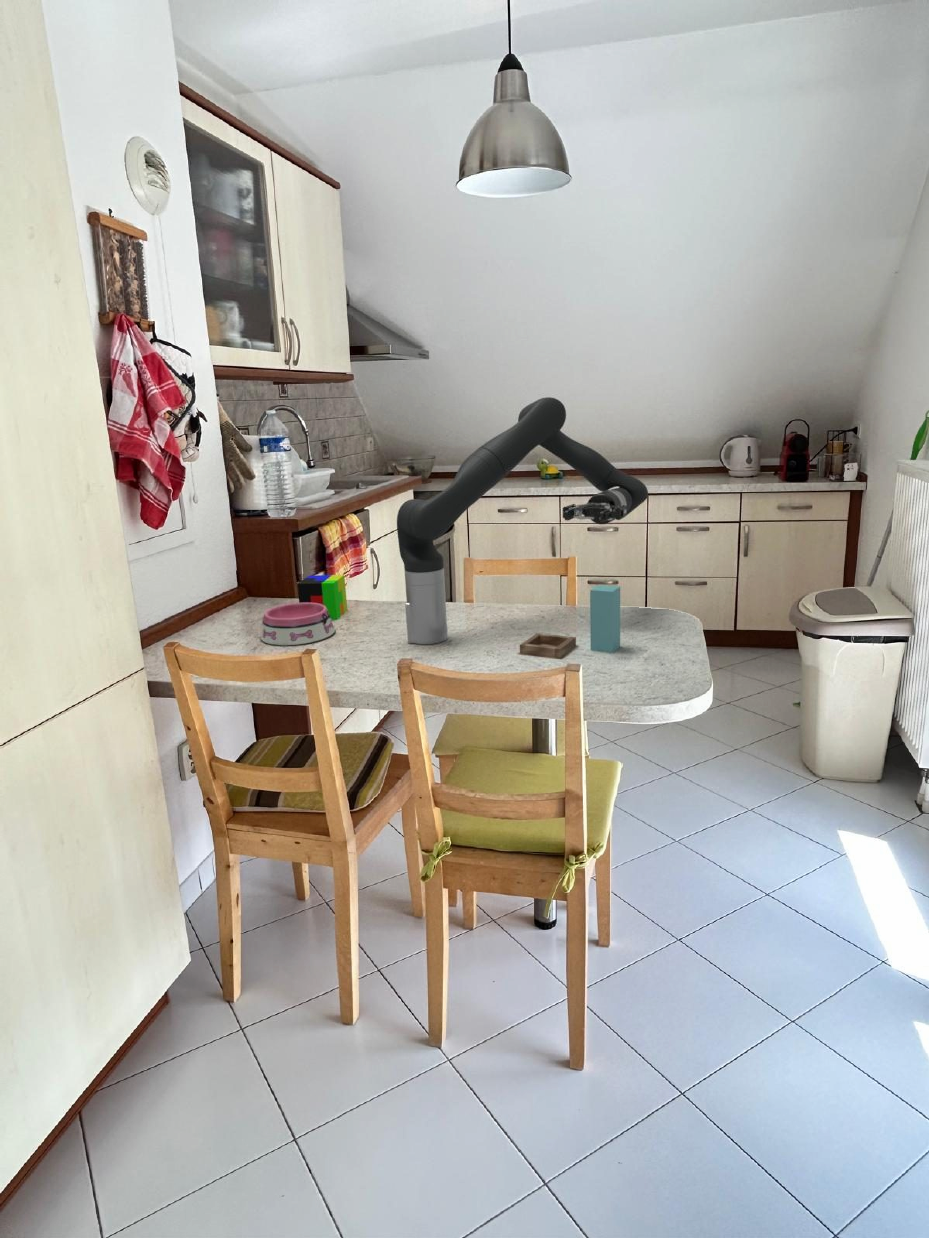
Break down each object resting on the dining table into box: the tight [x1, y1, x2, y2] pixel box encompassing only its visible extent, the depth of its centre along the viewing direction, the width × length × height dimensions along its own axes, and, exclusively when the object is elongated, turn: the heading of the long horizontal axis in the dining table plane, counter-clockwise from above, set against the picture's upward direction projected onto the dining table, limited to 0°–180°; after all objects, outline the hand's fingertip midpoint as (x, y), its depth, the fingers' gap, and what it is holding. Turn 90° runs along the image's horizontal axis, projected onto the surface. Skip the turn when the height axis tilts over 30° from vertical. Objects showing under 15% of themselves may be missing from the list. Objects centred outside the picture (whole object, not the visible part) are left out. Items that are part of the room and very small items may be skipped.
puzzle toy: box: [296, 574, 348, 621], centre depth 224 cm, size 10×10×10 cm
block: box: [589, 584, 621, 654], centre depth 180 cm, size 5×5×14 cm
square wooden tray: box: [517, 632, 579, 660], centre depth 182 cm, size 10×10×3 cm
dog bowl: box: [260, 602, 337, 647], centre depth 206 cm, size 18×19×7 cm
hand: (583, 516), depth 188 cm, fingers open, 8 cm apart
